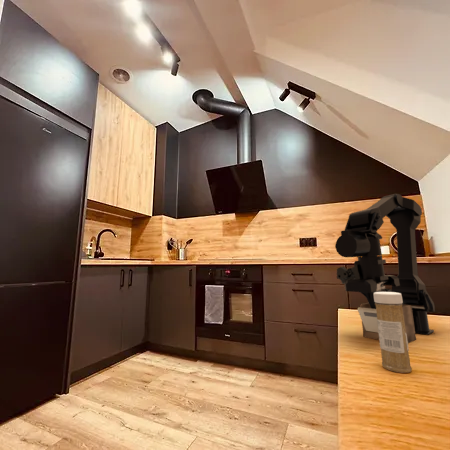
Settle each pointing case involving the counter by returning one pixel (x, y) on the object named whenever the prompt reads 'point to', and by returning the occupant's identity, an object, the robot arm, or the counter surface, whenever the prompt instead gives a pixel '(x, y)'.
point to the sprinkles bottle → (392, 332)
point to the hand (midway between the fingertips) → (377, 317)
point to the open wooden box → (407, 320)
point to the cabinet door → (369, 318)
